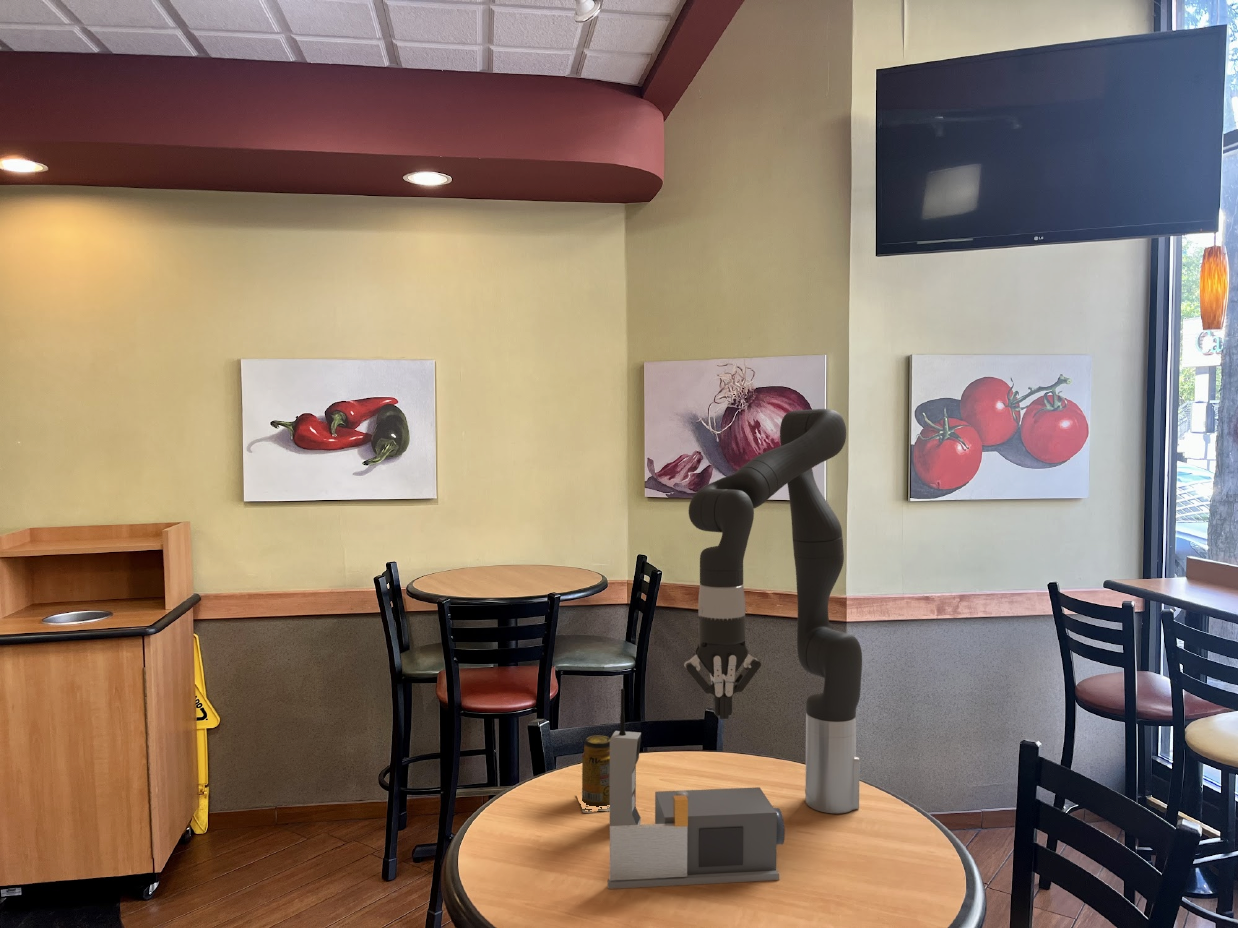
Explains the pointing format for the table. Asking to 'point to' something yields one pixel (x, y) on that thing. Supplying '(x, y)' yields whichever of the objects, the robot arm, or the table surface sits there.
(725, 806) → the grey box machine
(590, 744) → the yellow drink can
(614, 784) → the vintage mobile phone
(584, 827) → the table surface
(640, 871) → the side door
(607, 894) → the table surface
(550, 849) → the table surface
